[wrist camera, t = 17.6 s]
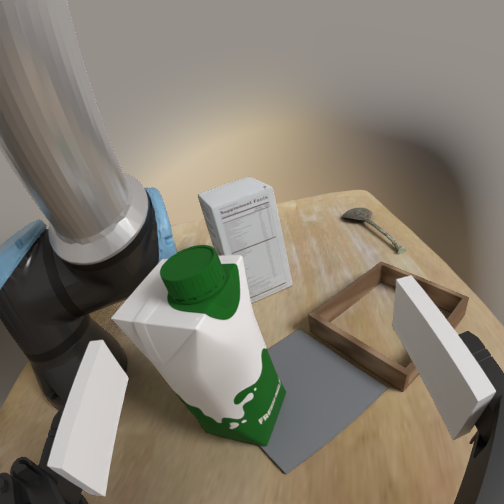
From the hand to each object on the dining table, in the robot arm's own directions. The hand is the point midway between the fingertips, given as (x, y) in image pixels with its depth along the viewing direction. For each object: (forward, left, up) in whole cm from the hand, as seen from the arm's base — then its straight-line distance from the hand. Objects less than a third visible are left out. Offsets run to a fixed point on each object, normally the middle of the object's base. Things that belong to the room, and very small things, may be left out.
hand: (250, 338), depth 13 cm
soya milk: (-10, +1, -20) cm, 23 cm away
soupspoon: (-27, +43, -21) cm, 55 cm away
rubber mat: (-9, +7, -20) cm, 23 cm away
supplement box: (-31, +16, -20) cm, 41 cm away
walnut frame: (-8, +22, -20) cm, 31 cm away
